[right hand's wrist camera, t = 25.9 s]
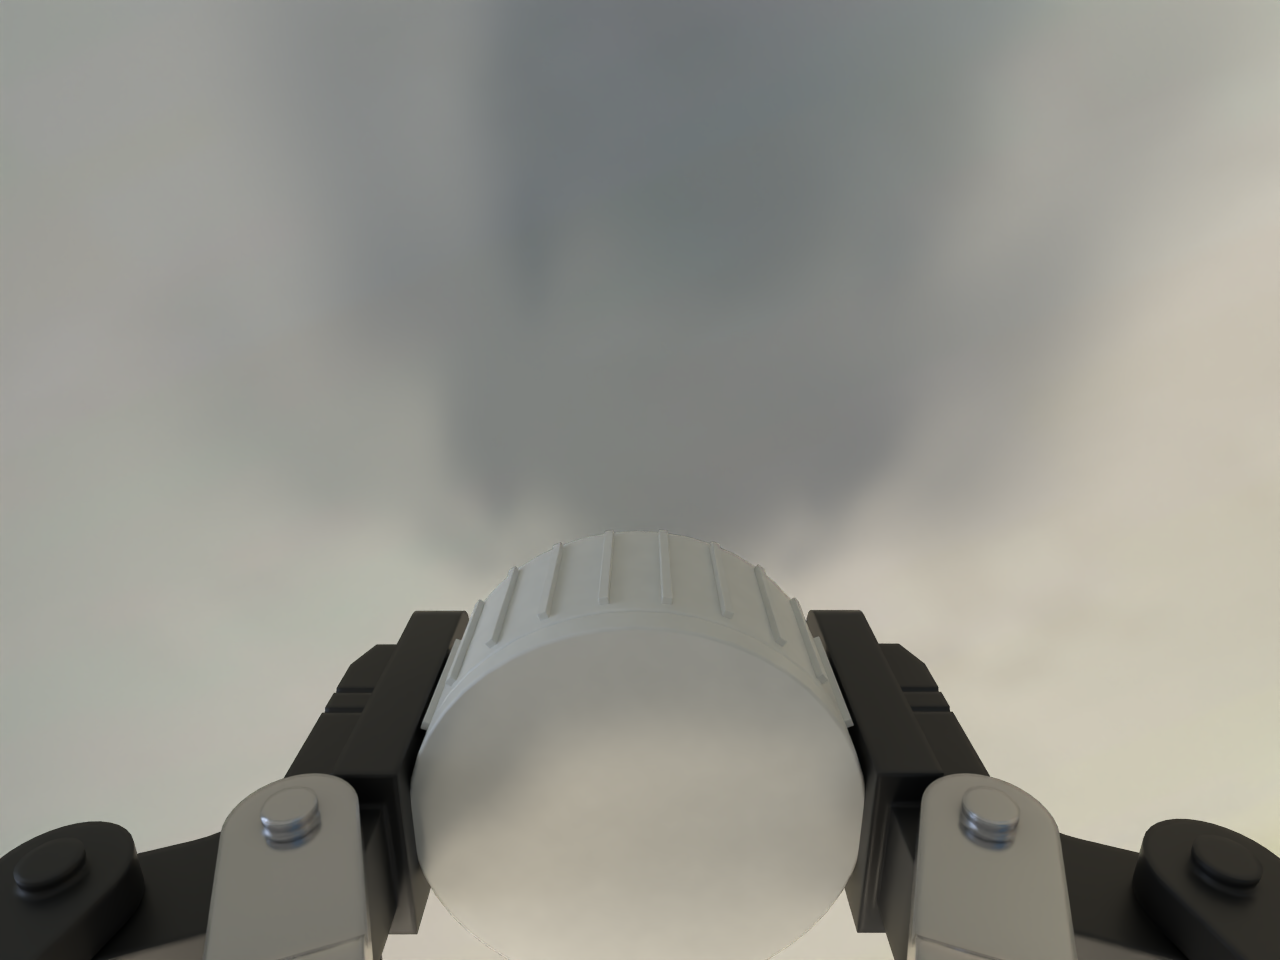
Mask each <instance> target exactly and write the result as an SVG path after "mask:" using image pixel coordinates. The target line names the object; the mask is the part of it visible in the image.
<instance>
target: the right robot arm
mask: <svg viewBox="0 0 1280 960" xmlns="http://www.w3.org/2000/svg"><path fill="white" fill-rule="evenodd" d="M468 622H469V617H468V614H467V612H466V611H415V612H414V613H413V614H412V616H411V618H410V620H409V622H408V624H407V626H406V628H405V630H404V632H403V633H402V635H401V637H400V639H399V641H398V643H397V645H375V646H374V647H373V648H372V649H370V650H369V651H368V652H366V653H365V654H364V655H362V656H361V657H360V658H359V659H357V660H356V661H355V662H353V663H352V664H351V665H350V666H349V668H348V670H347V671H346V673H345V675H344V677H343V678H342V680H341V682H340V683H339V685H338V687H337V692H336V693H334V694H333V695H332V697H331V699H330V700H329V702H328V704H327V705H326V707H325V713H322V714H321V716H320V717H319V719H318V721H317V722H316V724H315V726H314V728H313V729H312V731H311V733H310V734H309V736H308V738H307V739H306V741H305V743H304V745H303V746H302V748H301V750H300V751H299V753H298V755H297V756H296V758H295V760H294V762H293V763H292V765H291V767H290V768H289V770H288V772H287V773H286V775H285V777H284V778H283V779H280V780H278V781H275V782H272V783H270V784H268V785H266V786H264V787H262V788H260V789H258V790H257V791H255V792H253V793H252V794H250V795H249V796H248V797H246V798H245V799H244V800H242V801H241V802H240V803H239V804H238V805H237V806H236V807H235V808H234V809H233V810H232V812H231V813H230V814H229V816H228V817H227V818H226V820H225V822H224V824H223V826H222V830H221V832H218V833H216V834H213V835H210V836H208V837H204V838H201V839H197V840H194V841H190V842H185V843H181V844H177V845H173V846H168V847H164V848H160V849H156V850H151V851H147V852H143V853H139V854H137V852H136V848H135V844H134V841H133V838H132V836H131V834H130V833H129V832H128V831H127V830H126V829H125V828H123V827H121V826H120V825H117V824H113V823H109V822H101V821H99V822H83V823H76V824H72V825H68V826H64V827H61V828H57V829H54V830H51V831H49V832H46V833H44V834H41V835H39V836H37V837H35V838H33V839H31V840H29V841H27V842H25V843H23V844H21V845H20V846H18V847H16V848H15V849H13V850H11V851H10V852H8V853H7V854H6V855H4V856H3V857H2V858H0V960H382V952H383V949H384V946H385V943H386V940H387V937H388V934H417V933H418V930H419V926H420V923H421V919H422V916H423V912H424V909H425V906H426V902H427V899H428V895H429V892H430V888H431V886H430V884H429V883H428V881H427V879H426V877H425V876H424V874H423V871H422V869H421V866H420V864H419V861H418V856H417V849H416V841H415V833H414V825H413V817H412V808H411V798H410V782H411V776H412V773H413V769H414V766H415V762H416V759H417V755H418V753H419V750H420V747H421V745H422V742H423V740H424V737H425V735H426V732H427V730H424V729H421V725H422V722H423V720H424V717H425V715H426V712H427V710H428V707H429V705H430V702H431V700H432V697H433V695H434V692H435V690H436V687H437V685H438V682H439V680H440V677H441V675H442V672H443V670H444V667H445V665H446V662H447V660H448V657H449V655H450V652H451V650H452V647H453V645H454V642H455V640H456V639H459V640H462V637H463V635H464V632H465V630H466V627H467V625H468ZM806 622H807V625H808V628H809V630H810V632H811V634H812V636H813V638H815V637H818V636H819V637H820V640H821V642H822V645H823V647H824V650H825V652H826V655H827V658H828V660H829V663H830V665H831V668H832V670H833V673H834V676H835V678H836V681H837V683H838V686H839V688H840V691H841V694H842V696H843V699H844V701H845V704H846V706H847V709H848V711H849V714H850V717H851V719H852V722H853V724H854V725H853V726H851V727H848V728H847V729H848V732H849V735H850V737H851V740H852V743H853V745H854V748H855V751H856V754H857V757H858V760H859V763H860V766H861V770H862V773H863V776H864V783H865V798H864V808H863V817H862V825H861V833H860V842H859V850H858V857H857V862H856V865H855V867H854V870H853V872H852V874H851V876H850V878H849V880H848V882H847V883H846V885H845V887H844V888H845V891H846V895H847V898H848V902H849V905H850V909H851V912H852V916H853V919H854V923H855V926H856V930H857V933H886V935H887V938H888V941H889V944H890V947H891V950H892V953H893V956H894V960H1280V858H1279V857H1277V856H1276V855H1275V854H1273V853H1272V852H1270V851H1269V850H1268V849H1266V848H1265V847H1263V846H1261V845H1260V844H1258V843H1257V842H1255V841H1253V840H1251V839H1249V838H1247V837H1245V836H1243V835H1241V834H1239V833H1237V832H1234V831H1232V830H1230V829H1227V828H1224V827H1221V826H1218V825H1215V824H1212V823H1207V822H1203V821H1198V820H1190V819H1171V820H1165V821H1162V822H1158V823H1156V824H1155V825H1153V826H1151V827H1150V828H1149V829H1148V830H1147V832H1146V833H1145V836H1144V838H1143V842H1142V845H1141V849H1140V853H1137V852H1133V851H1129V850H1124V849H1120V848H1116V847H1112V846H1107V845H1103V844H1099V843H1095V842H1090V841H1086V840H1082V839H1078V838H1074V837H1071V836H1067V835H1064V834H1062V833H1059V830H1058V826H1057V824H1056V822H1055V820H1054V818H1053V817H1052V816H1051V814H1050V813H1049V812H1048V810H1047V809H1046V808H1045V807H1044V806H1043V805H1042V804H1041V803H1040V802H1039V801H1038V800H1036V799H1035V798H1034V797H1032V796H1031V795H1030V794H1028V793H1027V792H1025V791H1023V790H1022V789H1020V788H1018V787H1016V786H1014V785H1012V784H1010V783H1008V782H1005V781H1002V780H1000V779H997V778H993V777H990V775H989V774H988V772H987V770H986V769H985V767H984V765H983V763H982V762H981V760H980V758H979V756H978V755H977V753H976V751H975V750H974V748H973V746H972V744H971V743H970V741H969V739H968V737H967V736H966V734H965V732H964V731H963V729H962V727H961V725H960V724H959V722H958V720H957V719H956V717H955V715H954V713H953V712H950V706H949V705H948V703H947V701H946V700H945V698H944V696H943V694H942V693H941V692H939V691H938V686H937V684H936V682H935V681H934V679H933V677H932V675H931V674H930V672H929V670H928V668H927V667H926V665H925V664H924V663H923V662H922V661H920V660H919V659H918V658H917V657H915V656H914V655H913V654H911V653H910V652H909V651H908V650H906V649H905V648H904V647H902V646H901V645H900V644H878V642H877V640H876V638H875V636H874V634H873V632H872V630H871V628H870V626H869V624H868V622H867V620H866V618H865V616H864V614H863V613H862V612H861V611H860V610H810V611H809V613H808V616H807V620H806Z"/></svg>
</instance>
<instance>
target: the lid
mask: <svg viewBox="0 0 1280 960" xmlns="http://www.w3.org/2000/svg"><path fill="white" fill-rule="evenodd" d="M853 725H854V724H853V722H852V719H851V717H850V714H849V711H848V709H847V706H846V704H845V701H844V699H843V696H842V694H841V691H840V688H839V686H838V683H837V681H836V678H835V676H834V673H833V670H832V668H831V665H830V663H829V660H828V658H827V655H826V652H825V650H824V647H823V645H822V642H821V640H820V637H819V636H818V637H815V638H813V636H812V634H811V632H810V630H809V628H808V625H807V622H806V620H805V617H804V614H803V612H802V609H801V606H800V604H799V602H798V600H797V599H796V598H795V597H794V598H793V599H790V598H789V597H788V596H787V595H786V594H785V593H784V592H783V591H782V590H781V589H780V587H779V586H778V585H777V584H776V583H775V582H774V581H772V580H771V579H770V578H769V577H768V576H766V573H765V570H764V568H763V567H761V566H760V565H757V566H756V567H755V566H753V565H752V564H750V563H748V562H747V561H745V560H743V559H742V558H740V557H739V556H737V555H735V554H733V553H731V552H729V551H726V550H724V549H722V548H720V545H719V544H718V543H716V542H713V541H712V542H711V544H710V543H706V542H703V541H700V540H697V539H693V538H690V537H686V536H680V535H675V534H669V533H668V531H667V530H659V532H647V531H628V532H614V531H613V530H609V531H605V534H601V535H596V536H590V537H585V538H582V539H579V540H576V541H573V542H570V543H566V544H563V545H562V543H561V542H560V543H558V544H555V545H553V549H552V550H550V551H547V552H545V553H543V554H541V555H539V556H537V557H535V558H534V559H532V560H531V561H529V562H528V563H526V564H524V565H523V566H521V567H520V568H518V569H517V567H516V566H515V567H513V568H512V569H511V570H509V573H508V576H507V578H506V579H505V580H504V581H502V582H501V583H500V584H499V585H498V586H497V587H496V588H495V590H494V591H493V592H492V593H491V594H490V595H489V596H488V597H487V598H486V600H485V601H484V602H483V601H481V600H478V602H477V603H476V604H475V607H474V609H473V612H472V614H471V617H470V619H469V622H468V625H467V627H466V630H465V632H464V635H463V637H462V640H459V639H456V640H455V642H454V645H453V647H452V650H451V652H450V655H449V657H448V660H447V662H446V665H445V667H444V670H443V672H442V675H441V677H440V680H439V682H438V685H437V687H436V690H435V692H434V695H433V697H432V700H431V702H430V705H429V707H428V710H427V712H426V715H425V717H424V720H423V722H422V725H421V729H424V730H427V732H426V735H425V737H424V740H423V742H422V745H421V747H420V750H419V753H418V755H417V759H416V762H415V766H414V769H413V773H412V776H411V782H410V798H411V808H412V817H413V825H414V833H415V841H416V849H417V856H418V861H419V864H420V866H421V869H422V871H423V874H424V876H425V877H426V879H427V881H428V883H429V884H430V886H431V888H432V890H433V891H434V893H435V895H436V896H437V898H438V899H439V900H440V901H441V903H442V904H443V905H444V907H445V908H446V909H447V910H448V912H449V913H450V914H451V915H452V916H453V917H454V918H455V919H456V920H457V921H458V922H459V923H460V924H461V925H462V926H463V927H464V928H465V929H466V930H467V931H468V932H469V933H470V934H472V935H473V936H474V937H476V938H477V939H478V940H479V941H481V942H482V943H483V944H485V945H486V946H487V947H489V948H490V949H492V950H493V951H495V952H497V953H498V954H500V955H502V956H503V957H505V958H507V959H508V960H768V959H769V958H771V957H773V956H774V955H776V954H777V953H779V952H781V951H782V950H784V949H785V948H787V947H789V946H790V945H791V944H793V943H794V942H795V941H796V940H798V939H799V938H800V937H801V936H803V935H804V934H805V933H806V932H808V931H809V930H810V929H811V928H812V927H813V926H814V925H815V924H816V923H817V922H818V921H819V920H820V919H821V918H822V917H823V916H824V915H825V914H826V913H827V911H828V910H829V909H830V907H831V906H832V905H833V903H834V902H835V901H836V899H837V898H838V897H839V895H840V894H841V893H842V891H843V889H844V887H845V885H846V883H847V882H848V880H849V878H850V876H851V874H852V872H853V870H854V867H855V865H856V862H857V857H858V850H859V842H860V833H861V825H862V817H863V808H864V798H865V783H864V776H863V773H862V770H861V766H860V763H859V760H858V757H857V754H856V751H855V748H854V745H853V743H852V740H851V737H850V735H849V732H848V729H847V728H848V727H851V726H853Z"/></svg>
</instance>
